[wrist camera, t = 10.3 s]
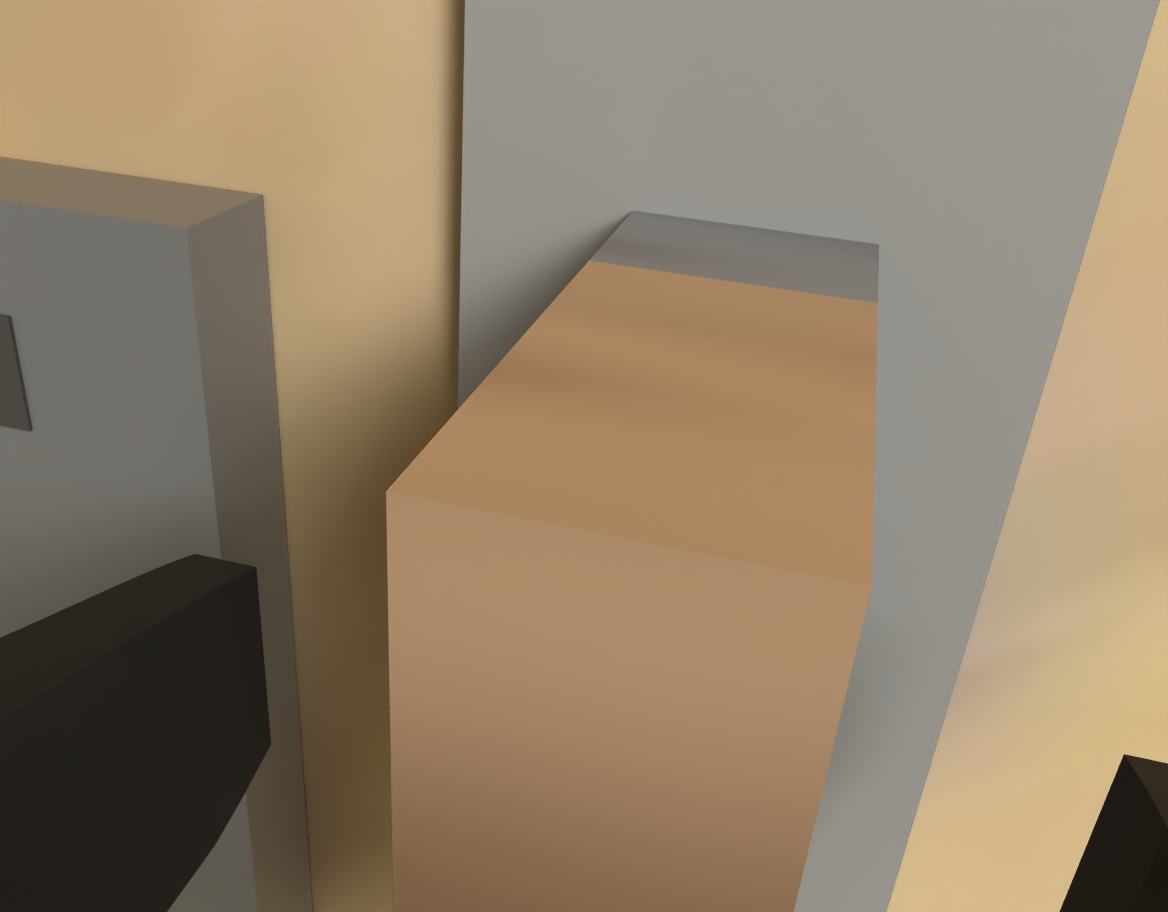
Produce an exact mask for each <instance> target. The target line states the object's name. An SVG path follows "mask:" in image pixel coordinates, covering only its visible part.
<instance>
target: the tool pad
mask: <svg viewBox="0 0 1168 912" xmlns="http://www.w3.org/2000/svg"><path fill="white" fill-rule="evenodd" d="M1159 2H1160V0H465V28H464V84H463V139H462V195H461V250H460V306H459V362H458V409H459V408H460V407H461V406H462V404H463V403H464V402H465V401H466V400H467V399H468V398H469V396H470V395H471V394H472V393H473V392H474V391H475V390H476V389H477V387H478V386H479V385H480V384H481V383H482V382H483V381H484V379H485V378H486V377H487V376H488V375H489V374H490V373H491V371H492V370H493V369H494V368H495V367H496V366H497V365H498V364H499V362H500V361H501V360H502V359H503V358H504V357H505V356H506V354H507V353H508V352H509V351H510V350H511V349H512V348H513V346H514V345H515V344H516V343H517V342H518V341H519V340H520V338H521V337H522V336H523V335H524V334H525V333H526V332H527V331H528V329H529V328H530V327H531V326H532V325H533V324H534V323H535V321H536V320H537V319H538V318H539V317H540V316H541V315H542V313H543V312H544V311H545V310H546V309H547V308H548V307H549V306H550V304H551V303H552V302H553V301H554V300H555V299H556V298H557V296H558V295H559V294H560V293H561V292H562V291H563V290H564V288H565V287H566V286H567V285H568V284H569V283H570V282H571V281H572V279H573V278H574V277H575V276H576V275H577V274H578V273H579V271H580V270H581V269H582V268H583V267H584V266H585V265H586V263H587V262H588V261H589V260H590V259H591V258H592V257H593V255H594V254H595V253H596V252H597V251H598V250H599V249H600V248H601V246H602V245H603V244H604V243H605V242H606V241H607V240H608V238H609V237H610V236H611V235H612V234H613V233H614V232H615V230H616V229H617V228H618V227H619V226H620V225H621V224H622V223H623V221H624V220H625V219H626V218H627V217H628V216H629V215H630V213H631V212H632V211H640V212H647V213H655V214H662V215H669V216H677V217H684V218H691V219H698V220H706V221H713V222H720V223H728V224H735V225H742V226H749V227H757V228H764V229H771V230H779V231H786V232H793V233H801V234H808V235H815V236H822V237H830V238H837V239H844V240H852V241H859V242H866V243H873V244H879V276H878V322H877V368H876V415H875V461H874V507H873V553H872V588H871V592H870V596H869V601H868V605H867V609H866V613H865V617H864V621H863V626H862V630H861V634H860V638H859V642H858V646H857V651H856V655H855V659H854V663H853V667H852V671H851V676H850V680H849V684H848V688H847V692H846V696H845V700H844V705H843V709H842V713H841V717H840V721H839V725H838V730H837V734H836V738H835V742H834V746H833V750H832V755H831V759H830V763H829V767H828V771H827V775H826V780H825V784H824V788H823V792H822V796H821V800H820V804H819V809H818V813H817V817H816V821H815V825H814V829H813V834H812V838H811V842H810V846H809V850H808V854H807V859H806V863H805V867H804V871H803V875H802V879H801V884H800V888H799V892H798V896H797V900H796V904H795V909H794V912H887V908H888V905H889V902H890V898H891V895H892V892H893V888H894V885H895V882H896V878H897V875H898V872H899V868H900V865H901V862H902V858H903V855H904V852H905V848H906V845H907V842H908V838H909V835H910V832H911V828H912V825H913V822H914V818H915V815H916V812H917V808H918V805H919V802H920V798H921V795H922V792H923V788H924V785H925V782H926V778H927V775H928V772H929V768H930V765H931V762H932V758H933V755H934V752H935V748H936V745H937V742H938V738H939V735H940V732H941V728H942V725H943V722H944V718H945V715H946V712H947V708H948V705H949V702H950V698H951V695H952V692H953V688H954V685H955V682H956V678H957V675H958V672H959V668H960V665H961V662H962V658H963V655H964V652H965V648H966V645H967V642H968V638H969V635H970V632H971V628H972V625H973V622H974V618H975V615H976V612H977V608H978V605H979V602H980V598H981V595H982V592H983V588H984V585H985V582H986V578H987V575H988V572H989V568H990V565H991V562H992V558H993V555H994V552H995V548H996V545H997V542H998V538H999V535H1000V532H1001V528H1002V525H1003V522H1004V518H1005V515H1006V512H1007V508H1008V505H1009V502H1010V498H1011V495H1012V492H1013V488H1014V485H1015V482H1016V478H1017V475H1018V472H1019V468H1020V465H1021V462H1022V458H1023V455H1024V452H1025V448H1026V445H1027V442H1028V438H1029V435H1030V432H1031V428H1032V425H1033V422H1034V418H1035V415H1036V412H1037V408H1038V405H1039V402H1040V398H1041V395H1042V392H1043V388H1044V385H1045V382H1046V378H1047V375H1048V372H1049V368H1050V365H1051V362H1052V358H1053V355H1054V352H1055V348H1056V345H1057V342H1058V338H1059V335H1060V332H1061V328H1062V325H1063V322H1064V318H1065V315H1066V312H1067V308H1068V305H1069V302H1070V298H1071V295H1072V292H1073V288H1074V285H1075V282H1076V278H1077V275H1078V272H1079V268H1080V265H1081V262H1082V258H1083V255H1084V252H1085V248H1086V245H1087V242H1088V238H1089V235H1090V232H1091V228H1092V225H1093V222H1094V218H1095V215H1096V212H1097V208H1098V205H1099V202H1100V198H1101V195H1102V192H1103V188H1104V185H1105V182H1106V178H1107V175H1108V172H1109V168H1110V165H1111V162H1112V158H1113V155H1114V152H1115V148H1116V145H1117V142H1118V138H1119V135H1120V132H1121V128H1122V125H1123V122H1124V118H1125V115H1126V112H1127V108H1128V105H1129V102H1130V98H1131V95H1132V92H1133V88H1134V85H1135V82H1136V78H1137V75H1138V72H1139V68H1140V65H1141V62H1142V58H1143V55H1144V52H1145V48H1146V45H1147V42H1148V38H1149V35H1150V32H1151V28H1152V25H1153V22H1154V18H1155V15H1156V12H1157V8H1158V5H1159Z"/></svg>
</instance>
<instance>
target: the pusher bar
mask: <svg viewBox="0 0 1168 912" xmlns="http://www.w3.org/2000/svg"><path fill="white" fill-rule="evenodd" d="M878 276H879V244H873V243H866V242H859V241H852V240H844V239H837V238H830V237H822V236H815V235H808V234H801V233H793V232H786V231H779V230H771V229H764V228H757V227H749V226H742V225H735V224H728V223H720V222H713V221H706V220H698V219H691V218H684V217H677V216H669V215H662V214H655V213H647V212H640V211H632V212H631V213H630V215H629V216H628V217H627V218H626V219H625V220H624V221H623V223H622V224H621V225H620V226H619V227H618V228H617V229H616V230H615V232H614V233H613V234H612V235H611V236H610V237H609V238H608V240H607V241H606V242H605V243H604V244H603V245H602V246H601V248H600V249H599V250H598V251H597V252H596V253H595V254H594V255H593V257H592V258H591V259H590V260H589V261H588V262H587V263H586V265H585V266H584V267H583V268H582V269H581V270H580V271H579V273H578V274H577V275H576V276H575V277H574V278H573V279H572V281H571V282H570V283H569V284H568V285H567V286H566V287H565V288H564V290H563V291H562V292H561V293H560V294H559V295H558V296H557V298H556V299H555V300H554V301H553V302H552V303H551V304H550V306H549V307H548V308H547V309H546V310H545V311H544V312H543V313H542V315H541V316H540V317H539V318H538V319H537V320H536V321H535V323H534V324H533V325H532V326H531V327H530V328H529V329H528V331H527V332H526V333H525V334H524V335H523V336H522V337H521V338H520V340H519V341H518V342H517V343H516V344H515V345H514V346H513V348H512V349H511V350H510V351H509V352H508V353H507V354H506V356H505V357H504V358H503V359H502V360H501V361H500V362H499V364H498V365H497V366H496V367H495V368H494V369H493V370H492V371H491V373H490V374H489V375H488V376H487V377H486V378H485V379H484V381H483V382H482V383H481V384H480V385H479V386H478V387H477V389H476V390H475V391H474V392H473V393H472V394H471V395H470V396H469V398H468V399H467V400H466V401H465V402H464V403H463V404H462V406H461V407H460V408H459V409H458V410H457V411H456V412H455V414H454V415H453V416H452V417H451V418H450V419H449V420H448V422H447V423H446V424H445V425H444V426H443V427H442V428H441V429H440V431H439V432H438V433H437V434H436V435H435V436H434V437H433V439H432V440H431V441H430V442H429V443H428V444H427V445H426V447H425V448H424V449H423V450H422V451H421V452H420V453H419V454H418V456H417V457H416V458H415V459H414V460H413V461H412V462H411V464H410V465H409V466H408V467H407V468H406V469H405V470H404V472H403V473H402V474H401V475H400V476H399V477H398V478H397V480H396V481H395V482H394V483H393V484H392V485H391V486H390V487H389V489H388V490H387V491H386V520H387V578H388V635H389V692H390V750H391V807H392V864H393V912H794V909H795V904H796V900H797V896H798V892H799V888H800V884H801V879H802V875H803V871H804V867H805V863H806V859H807V854H808V850H809V846H810V842H811V838H812V834H813V829H814V825H815V821H816V817H817V813H818V809H819V804H820V800H821V796H822V792H823V788H824V784H825V780H826V775H827V771H828V767H829V763H830V759H831V755H832V750H833V746H834V742H835V738H836V734H837V730H838V725H839V721H840V717H841V713H842V709H843V705H844V700H845V696H846V692H847V688H848V684H849V680H850V676H851V671H852V667H853V663H854V659H855V655H856V651H857V646H858V642H859V638H860V634H861V630H862V626H863V621H864V617H865V613H866V609H867V605H868V601H869V596H870V592H871V588H872V553H873V507H874V461H875V415H876V368H877V322H878Z"/></svg>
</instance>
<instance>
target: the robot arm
mask: <svg viewBox="0 0 1168 912" xmlns="http://www.w3.org/2000/svg"><path fill="white" fill-rule="evenodd" d="M270 746H271V735H270V723H269V711H268V699H267V687H266V675H265V663H264V651H263V639H262V628H261V616H260V604H259V592H258V580H257V568H256V567H254V566H250V565H245V564H240V563H236V562H231V561H226V560H222V559H217V558H213V557H208V556H203V555H199V554H192V555H190V556H187V557H184V558H182V559H179V560H176V561H174V562H171V563H168V564H166V565H163V566H161V567H158V568H156V569H154V570H151V571H149V572H146V573H144V574H142V575H139V576H137V577H135V578H132V579H130V580H128V581H126V582H123V583H121V584H119V585H117V586H114V587H112V588H110V589H107V590H105V591H103V592H101V593H99V594H96V595H94V596H92V597H90V598H87V599H85V600H83V601H81V602H79V603H76V604H74V605H72V606H70V607H68V608H65V609H63V610H61V611H59V612H57V613H54V614H52V615H50V616H48V617H45V618H43V619H41V620H39V621H37V622H34V623H32V624H30V625H28V626H25V627H23V628H21V629H19V630H16V631H14V632H12V633H10V634H7V635H5V636H3V637H1V638H0V912H167V911H168V910H169V909H170V907H171V906H172V904H173V903H174V902H175V900H176V899H177V898H178V896H179V895H180V893H181V892H182V891H183V889H184V888H185V887H186V885H187V884H188V882H189V881H190V880H191V878H192V877H193V876H194V874H195V873H196V871H197V870H198V869H199V867H200V866H201V864H202V863H203V862H204V860H205V859H206V857H207V856H208V855H209V853H210V852H211V850H212V849H213V847H214V846H215V845H216V843H217V841H218V839H219V838H220V836H221V834H222V833H223V831H224V829H225V827H226V826H227V824H228V822H229V820H230V819H231V817H232V815H233V813H234V812H235V810H236V808H237V807H238V805H239V803H240V801H241V800H242V798H243V796H244V794H245V792H246V790H247V789H248V787H249V785H250V783H251V781H252V779H253V777H254V775H255V774H256V772H257V770H258V768H259V766H260V764H261V762H262V761H263V759H264V757H265V755H266V753H267V751H268V749H269V747H270ZM1060 912H1168V764H1167V763H1162V762H1158V761H1153V760H1149V759H1144V758H1139V757H1135V756H1130V755H1125V754H1124V756H1123V758H1122V761H1121V763H1120V765H1119V768H1118V770H1117V773H1116V775H1115V778H1114V780H1113V783H1112V785H1111V787H1110V790H1109V792H1108V795H1107V797H1106V800H1105V802H1104V805H1103V807H1102V809H1101V812H1100V814H1099V817H1098V819H1097V822H1096V824H1095V827H1094V829H1093V831H1092V834H1091V836H1090V839H1089V841H1088V844H1087V846H1086V849H1085V851H1084V853H1083V856H1082V858H1081V861H1080V863H1079V866H1078V868H1077V871H1076V873H1075V875H1074V878H1073V880H1072V883H1071V885H1070V888H1069V890H1068V893H1067V895H1066V898H1065V900H1064V902H1063V905H1062V907H1061V910H1060Z"/></svg>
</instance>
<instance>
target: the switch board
mask: <svg viewBox="0 0 1168 912" xmlns="http://www.w3.org/2000/svg"><path fill="white" fill-rule="evenodd" d="M192 554H199V555H203V556H208V557H213V558H217V559H222V560H226V561H231V562H236V563H240V564H245V565H250V566H254V567H256V568H257V580H258V592H259V604H260V616H261V628H262V639H263V651H264V663H265V675H266V687H267V699H268V711H269V723H270V735H271V746H270V747H269V749H268V751H267V753H266V755H265V757H264V759H263V761H262V762H261V764H260V766H259V768H258V770H257V772H256V774H255V775H254V777H253V779H252V781H251V783H250V785H249V787H248V789H247V790H246V792H245V794H244V796H243V798H242V800H241V801H240V803H239V805H238V807H237V808H236V810H235V812H234V813H233V815H232V817H231V819H230V820H229V822H228V824H227V826H226V827H225V829H224V831H223V833H222V834H221V836H220V838H219V839H218V841H217V843H216V845H215V846H214V847H213V849H212V850H211V852H210V853H209V855H208V856H207V857H206V859H205V860H204V862H203V863H202V864H201V866H200V867H199V869H198V870H197V871H196V873H195V874H194V876H193V877H192V878H191V880H190V881H189V882H188V884H187V885H186V887H185V888H184V889H183V891H182V892H181V893H180V895H179V896H178V898H177V899H176V900H175V902H174V903H173V904H172V906H171V907H170V909H169V910H168V911H167V912H313V908H312V894H311V879H310V865H309V851H308V836H307V822H306V807H305V793H304V779H303V764H302V750H301V735H300V721H299V707H298V692H297V678H296V663H295V649H294V635H293V620H292V606H291V591H290V577H289V563H288V548H287V534H286V519H285V505H284V491H283V476H282V462H281V447H280V433H279V419H278V404H277V390H276V375H275V361H274V347H273V332H272V318H271V304H270V289H269V275H268V260H267V246H266V232H265V217H264V203H263V195H260V194H253V193H246V192H240V191H233V190H226V189H219V188H212V187H205V186H198V185H191V184H184V183H177V182H170V181H163V180H156V179H149V178H142V177H135V176H128V175H121V174H114V173H107V172H101V171H94V170H87V169H80V168H73V167H66V166H59V165H52V164H45V163H38V162H31V161H24V160H17V159H10V158H3V157H0V638H1V637H3V636H5V635H7V634H10V633H12V632H14V631H16V630H19V629H21V628H23V627H25V626H28V625H30V624H32V623H34V622H37V621H39V620H41V619H43V618H45V617H48V616H50V615H52V614H54V613H57V612H59V611H61V610H63V609H65V608H68V607H70V606H72V605H74V604H76V603H79V602H81V601H83V600H85V599H87V598H90V597H92V596H94V595H96V594H99V593H101V592H103V591H105V590H107V589H110V588H112V587H114V586H117V585H119V584H121V583H123V582H126V581H128V580H130V579H132V578H135V577H137V576H139V575H142V574H144V573H146V572H149V571H151V570H154V569H156V568H158V567H161V566H163V565H166V564H168V563H171V562H174V561H176V560H179V559H182V558H184V557H187V556H190V555H192Z"/></svg>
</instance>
